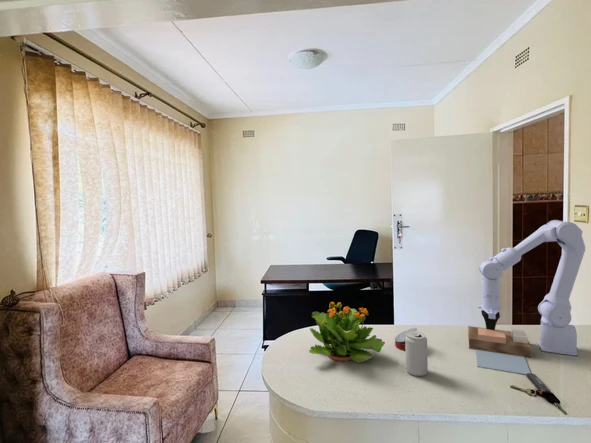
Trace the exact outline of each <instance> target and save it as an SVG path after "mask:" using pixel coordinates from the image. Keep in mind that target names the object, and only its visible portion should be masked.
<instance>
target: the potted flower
mask: <svg viewBox="0 0 591 443" xmlns="http://www.w3.org/2000/svg"><path fill="white" fill-rule="evenodd" d="M328 307H329V309H328V310H327V313H325V312H319V311H313V312H312V313H311V317H312V319H314V320H315V324H316V325H317V326H318V330H319V331H317V330H316V329H314V328H312V327H310V328H309V331H310V332H311V334H312V335H313V337H314V338H315V339H316V340H317V341H319V342H320V343H322V344H323V346H322V345H319V344H314V345H313V346H310V349H309V350H308V352H309V353H311V354H313V355H326V356H328V358H329V359H332V360H334V361H341V362H343V361H344V362H345V361H351V360H352V361H353V362H354V363H363V362H365V361H368V360H369V359H371V358H373V354H372V353H370V351H367V350H373V351H374V352H377V353H380V352H381V351H382V349H383V347H384V345H385V344H386V342H385V341H383V339H382V338H377V335H375V334H374V335H372V336H371V335H370V334H371V333H372V332H373V329H374V327H370V326H369V327H368V328H367V326H366V325H364V321H365V320H366V317H367V316H369V311H368V310H367V308H364V307H359V308H358V311H357V309H355V308H350V307H349V306H344V307H343V304H342V303H341V302H337V304H335V302H334V301H330V303H329V306H328ZM342 307H343V309H341V308H342ZM337 308H338V309H339V312H338V311H337ZM361 323H362V324H361ZM360 324H361V327H360ZM363 326H364V327H363ZM369 336H371V337H369ZM368 337H369V338H368Z"/></svg>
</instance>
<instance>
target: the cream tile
mask: <svg viewBox="0 0 591 443" xmlns="http://www.w3.org/2000/svg"><path fill="white" fill-rule="evenodd" d="M510 331H511V336H512V339H513V341H514V342H519V343H527V344H528V341H529V337H528V335H527V333H526V331H525V330H524V329H520V328H519V329H518V328H510Z"/></svg>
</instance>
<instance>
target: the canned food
mask: <svg viewBox="0 0 591 443" xmlns="http://www.w3.org/2000/svg"><path fill="white" fill-rule="evenodd" d="M410 331H418V327H413V328H412V327H411V328H409V329H406V330H405V331H402V332H400V333H398V335H396V337H395V338H394V340H395V342H394V344H395V348H396V349H398V350H400V351H402V352H405V337H406V333H407V332H410Z"/></svg>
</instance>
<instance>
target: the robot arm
mask: <svg viewBox="0 0 591 443" xmlns="http://www.w3.org/2000/svg"><path fill="white" fill-rule="evenodd" d="M549 242H557V244H558V245H559V246H560V247H561V248H562V253H561V256H560V259H559V263H558V266H557V269H556V272H555V275H554V277H553V282H552V283H551V287H550V290H549V292H548V293H547V294H545V296H544V298H543V300H542V301H541V302H540V303H539V304H538V306H537V310H538V313H539V314H540V315H541V318H540V340H536V343H537V344H538V346H539V348H540V349H541V351H542V352H547V353H554V354H563V355H570V356H578V353H577V350H578V349H577V348H578V347H577V344H578V341H577V340H578V339H577V337H578V333H577V329H576V326H575V325H573V324H570V323H571V322H572V314H571V312H572V305H571V302H570V297H571V295H572V294H571V293H572V292H573V289H574V285H575V282H576V279H577V276H578V274H579V271H580V267H581V265H582V261H583V258H584V255H585V252H586V244H585V241H584V238H583V230H582V229H581V228H580V227H579V226H578V224H576V223H575V222H571V221H563V220H559V219H553V220H550V221H548V222H547V223H546V224H543V225H542V226H540V227H538V229H537V230H535V231H534V232H532V234H530V235H529V236H528V237H526V238H524V239H523V240H522V241H521V242H519V243H518V244H517V245H516V246H514V247H506V248H505V247H503V248H501V249H500V251H501V252H498V253H497V254H496V255H495V256H491V257H489V258H488V260H484V261H483V262H481V263H480V266H479V267H478V270H479V272H480V274H481V281H480V283H481V284H480V293H481V295H480V296H481V297H480V300H481V301H480V304H477V308H478V309H481V315H482V317H483V319H484V324H485V328H486V329H489V330H495V329H496V326H497V323H498V321H499V319H500V318H501V314H500V311H501V307H500V306H501V303H500V301H501V296H500V295H501V294H500V293H501V292H500V291H501V290H500V289H501V283H500V278H501V277H502V275H503V272H505V271H506V270H508V269H510V268H511V267H513V266H514V265H516V264H518V263H519V262H520V261H521V260H522V256H523V255H524V254H527V253H528V252H529V251H531V250H532V249H534V248H536V247H537V246H539V245H541V244H542V243H549Z"/></svg>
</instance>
